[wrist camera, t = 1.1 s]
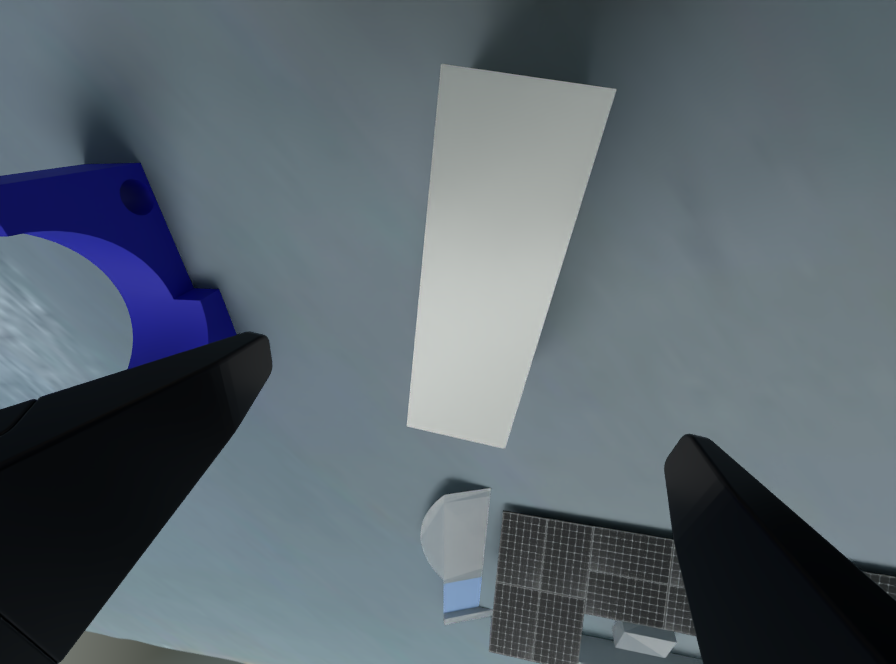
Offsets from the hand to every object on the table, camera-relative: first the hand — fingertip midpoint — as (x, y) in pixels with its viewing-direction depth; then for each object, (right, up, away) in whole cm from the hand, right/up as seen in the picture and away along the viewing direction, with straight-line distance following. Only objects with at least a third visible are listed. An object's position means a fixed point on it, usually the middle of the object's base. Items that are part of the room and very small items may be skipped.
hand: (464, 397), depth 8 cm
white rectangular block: (+2, +5, +8) cm, 9 cm away
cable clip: (-14, +4, +12) cm, 19 cm away
